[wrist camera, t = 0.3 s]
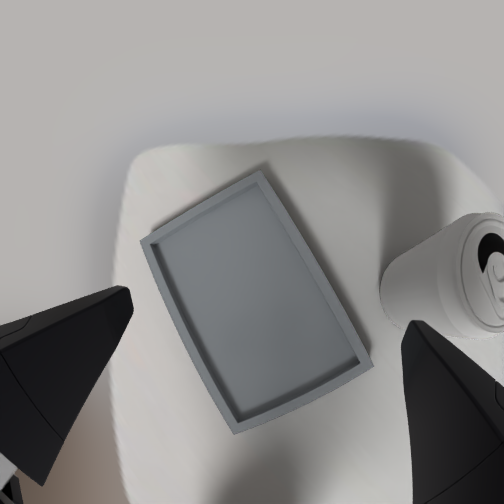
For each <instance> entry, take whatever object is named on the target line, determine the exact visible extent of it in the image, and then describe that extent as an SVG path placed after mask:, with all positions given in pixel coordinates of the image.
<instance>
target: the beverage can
mask: <svg viewBox="0 0 504 504" xmlns="http://www.w3.org/2000/svg"><path fill="white" fill-rule="evenodd" d="M380 299H381V304H382V307H383V309H384V312H385V314H386V315H387V317H388V318H389V319H390V321H391V322H392V323H393V324H395V325H396V326H398V327H399V328H401V329H404V330H406V329H407V327H408V324H409V322H410V321H411V320H423V321H424V322H426V323H427V324H428V325H430V326H431V327H432V328H433V329H435V330H436V331H437V332H438V333H440V334H441V335H442V336H449V337H457V338H465V339H474V340H486V339H490V338H492V337H494V336H496V335H498V334H499V333H502V332H504V216H502V215H499V214H497V213H483V214H481V213H472V214H467V215H465V216H462V217H461V218H459V219H457V220H456V221H454V222H453V223H451V224H450V225H448V226H447V227H445V228H444V229H442V230H441V231H439V232H437V233H436V234H434V235H433V236H431V237H429V238H428V239H426V240H425V241H423V242H421V243H420V244H418V245H417V246H415V247H413V248H412V249H410V250H408V251H407V252H405V253H403V254H402V255H400V256H398V257H397V258H395V259H394V260H393V261H392V262H391V263H390V264H389V266H388V267H387V269H386V270H385V272H384V274H383V277H382V280H381V285H380Z"/></svg>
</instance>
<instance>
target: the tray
mask: <svg viewBox="0 0 504 504" xmlns="http://www.w3.org/2000/svg"><path fill="white" fill-rule="evenodd" d="M140 244H141V246H142V249H143V251H144V254H145V257H146V259H147V262H148V264H149V267H150V269H151V272H152V274H153V277H154V279H155V282H156V284H157V286H158V289H159V291H160V293H161V296H162V298H163V300H164V303H165V305H166V307H167V309H168V312H169V314H170V316H171V318H172V320H173V323H174V325H175V327H176V329H177V331H178V333H179V335H180V337H181V340H182V342H183V344H184V346H185V348H186V350H187V352H188V354H189V356H190V358H191V360H192V362H193V364H194V366H195V367H196V369H197V371H198V373H199V375H200V377H201V379H202V381H203V383H204V384H205V386H206V388H207V390H208V392H209V394H210V395H211V397H212V399H213V401H214V402H215V404H216V406H217V408H218V409H219V411H220V413H221V414H222V416H223V418H224V420H225V421H226V423H227V425H228V426H229V428H230V429H231V431H232V433H233V434H237V433H240V432H243V431H245V430H248V429H250V428H253V427H256V426H258V425H261V424H263V423H265V422H268V421H270V420H273V419H275V418H277V417H280V416H282V415H284V414H286V413H288V412H291V411H293V410H295V409H297V408H299V407H301V406H303V405H305V404H307V403H310V402H312V401H314V400H316V399H317V398H319V397H321V396H323V395H325V394H327V393H329V392H331V391H333V390H335V389H336V388H338V387H340V386H342V385H344V384H345V383H347V382H349V381H351V380H352V379H354V378H356V377H357V376H359V375H361V374H362V373H364V372H366V371H367V370H369V369H371V368H372V367H374V365H373V363H372V361H371V359H370V357H369V355H368V353H367V351H366V349H365V347H364V345H363V344H362V342H361V340H360V338H359V336H358V334H357V332H356V330H355V328H354V327H353V325H352V323H351V321H350V319H349V317H348V315H347V314H346V312H345V310H344V308H343V306H342V304H341V303H340V301H339V299H338V297H337V295H336V294H335V292H334V290H333V288H332V287H331V285H330V283H329V281H328V280H327V278H326V276H325V274H324V273H323V271H322V269H321V267H320V266H319V264H318V262H317V261H316V259H315V257H314V255H313V254H312V252H311V250H310V249H309V247H308V245H307V244H306V242H305V240H304V239H303V237H302V235H301V234H300V232H299V230H298V229H297V227H296V225H295V224H294V222H293V220H292V219H291V217H290V216H289V214H288V212H287V211H286V209H285V208H284V206H283V204H282V203H281V201H280V200H279V198H278V196H277V195H276V193H275V192H274V190H273V189H272V187H271V185H270V184H269V182H268V181H267V179H266V178H265V176H264V175H263V173H262V171H261V170H259V171H257V172H255V173H253V174H251V175H249V176H248V177H246V178H244V179H242V180H240V181H238V182H237V183H235V184H233V185H231V186H229V187H228V188H226V189H224V190H222V191H221V192H219V193H217V194H215V195H214V196H212V197H210V198H208V199H207V200H205V201H203V202H202V203H200V204H198V205H197V206H195V207H193V208H191V209H190V210H188V211H186V212H185V213H183V214H182V215H180V216H178V217H177V218H175V219H173V220H172V221H170V222H168V223H167V224H165V225H164V226H162V227H160V228H159V229H157V230H156V231H154V232H153V233H151V234H149V235H148V236H146V237H145V238H143V239H142V240H140Z"/></svg>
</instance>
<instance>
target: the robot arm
mask: <svg viewBox="0 0 504 504" xmlns="http://www.w3.org/2000/svg"><path fill="white" fill-rule="evenodd" d="M133 311H134V307H133V303H132V298H131V294H130V290H129V289H128V288H127V287H125V286H119V285H117V286H114V287H111V288H108V289H105V290H102V291H99V292H96V293H93V294H91V295H88V296H85V297H82V298H79V299H76V300H73V301H70V302H68V303H65V304H62V305H59V306H56V307H53V308H50V309H48V310H45V311H42V312H39V313H36V314H34V315H33V316H32V315H31V316H28V317H25V318H22V319H19V320H16V321H13V322H10V323H7V324H4V325H1V326H0V504H23V500H22V495H21V490H20V485H19V478H18V477H16V475H14V472H15V471H16V470H17V468H18V469H20V470H21V471H22V472H23V473H25V474H26V475H27V476H29V477H30V478H31V479H32V480H34V481H35V482H37V483H38V484H39V485H40V486H43V485H44V483H45V482H46V479H47V477H48V475H49V473H50V470H51V468H52V466H53V464H54V462H55V460H56V458H57V456H58V454H59V452H60V450H61V447H62V445H63V443H64V441H65V439H66V437H67V435H68V433H69V431H70V429H71V427H72V426H73V424H74V422H75V420H76V418H77V416H78V414H79V412H80V410H81V408H82V407H83V405H84V403H85V401H86V399H87V398H88V396H89V394H90V392H91V390H92V388H93V387H94V385H95V383H96V382H97V380H98V378H99V377H100V375H101V373H102V371H103V370H104V368H105V366H106V365H107V363H108V361H109V360H110V358H111V356H112V355H113V353H114V351H115V349H116V348H117V346H118V344H119V342H120V339H121V337H122V335H123V333H124V331H125V329H126V327H127V325H128V323H129V321H130V319H131V317H132V315H133ZM401 354H402V367H403V385H404V395H405V402H406V409H407V417H408V425H409V435H410V446H411V459H412V481H413V504H504V387H503V386H502V385H501V384H500V383H499V382H497V381H496V382H495V379H494V378H493V377H492V376H490V375H489V374H488V373H487V372H486V371H485V370H483V369H482V368H481V367H480V366H479V365H478V364H476V363H475V362H474V361H473V360H472V359H470V358H469V357H468V356H467V355H466V354H464V353H463V352H462V351H461V350H460V349H458V348H457V347H456V346H455V345H453V344H452V343H451V342H450V341H448V340H447V339H446V338H445V337H443V336H442V335H441V334H440V333H438V332H437V331H436V330H435V329H433V328H432V327H431V326H430V325H428V324H427V323H426V322H424V321H423V320H411V321H410V322H409V324H408V327H407V329H406V332H405V334H404V337H403V340H402V343H401Z"/></svg>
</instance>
